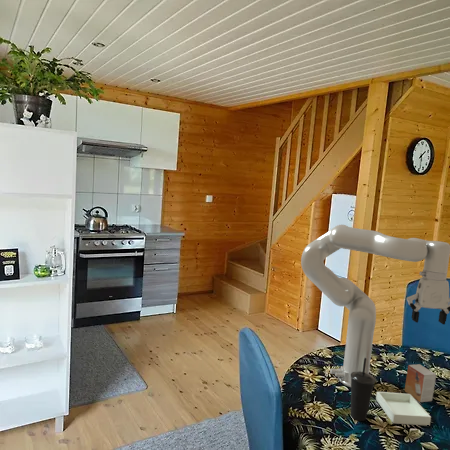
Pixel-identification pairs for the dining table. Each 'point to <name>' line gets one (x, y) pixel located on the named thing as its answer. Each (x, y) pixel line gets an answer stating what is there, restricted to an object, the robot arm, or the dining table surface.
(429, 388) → the small box
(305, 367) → the dining table surface
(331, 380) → the dining table surface
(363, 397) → the drinking cup
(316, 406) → the dining table surface
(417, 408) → the tray
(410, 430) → the dining table surface
